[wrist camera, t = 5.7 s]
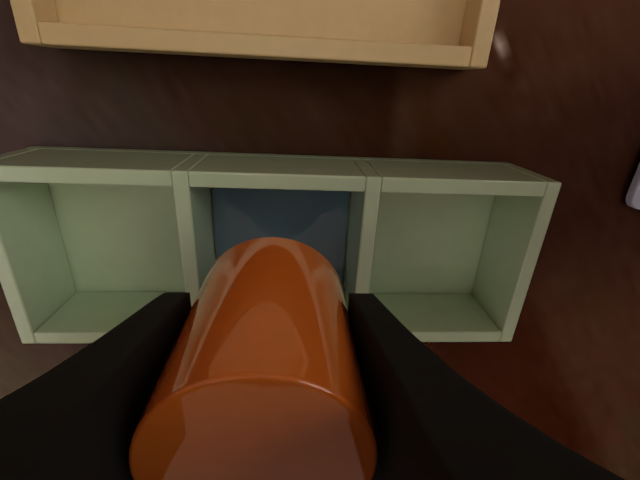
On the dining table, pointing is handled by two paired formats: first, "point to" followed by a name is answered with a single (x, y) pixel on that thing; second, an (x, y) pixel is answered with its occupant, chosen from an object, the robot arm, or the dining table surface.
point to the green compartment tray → (266, 233)
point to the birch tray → (271, 29)
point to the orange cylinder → (260, 377)
